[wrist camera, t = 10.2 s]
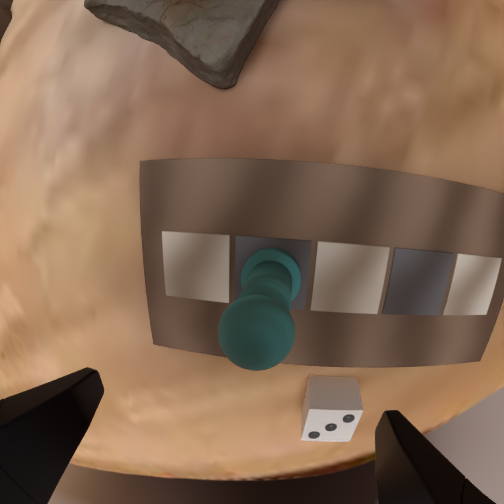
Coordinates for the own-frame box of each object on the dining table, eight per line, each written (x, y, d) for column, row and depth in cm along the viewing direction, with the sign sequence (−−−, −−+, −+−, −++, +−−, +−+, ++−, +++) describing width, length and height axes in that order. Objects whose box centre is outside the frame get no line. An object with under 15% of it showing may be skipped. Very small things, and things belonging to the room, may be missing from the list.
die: (356, 376, 21) (363, 411, 17) (345, 408, 22) (349, 442, 18) (309, 374, 22) (309, 409, 18) (302, 406, 23) (300, 441, 19)
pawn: (303, 249, 17) (305, 317, 9) (298, 303, 18) (294, 393, 10) (244, 245, 18) (200, 306, 10) (242, 298, 19) (205, 382, 11)
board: (514, 196, 15) (524, 199, 14) (474, 353, 19) (480, 362, 18) (148, 161, 19) (138, 161, 17) (159, 336, 23) (152, 345, 21)
